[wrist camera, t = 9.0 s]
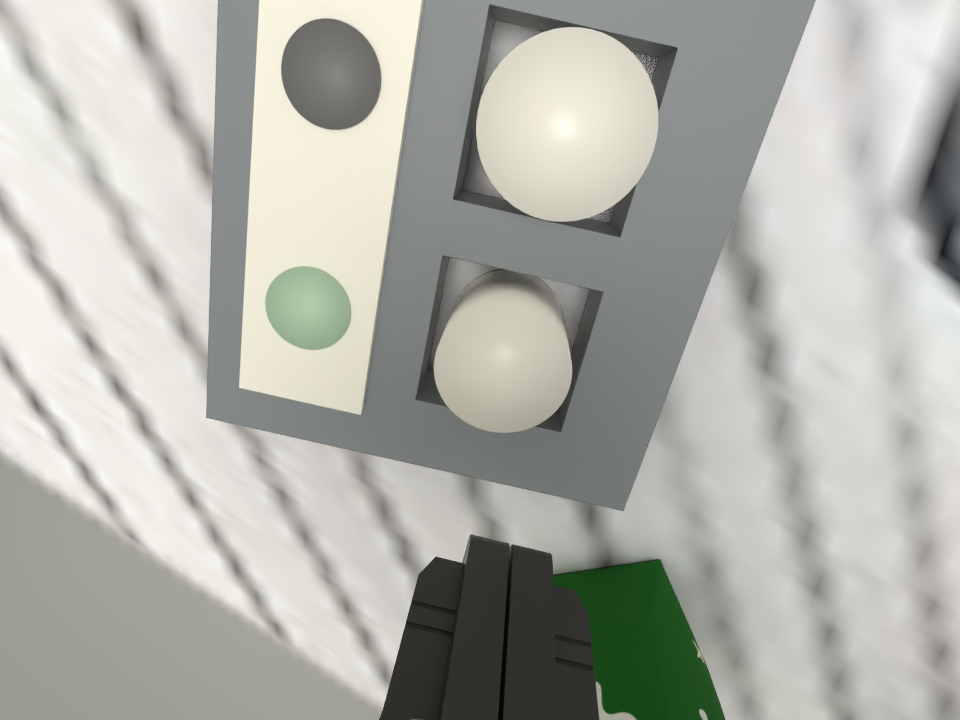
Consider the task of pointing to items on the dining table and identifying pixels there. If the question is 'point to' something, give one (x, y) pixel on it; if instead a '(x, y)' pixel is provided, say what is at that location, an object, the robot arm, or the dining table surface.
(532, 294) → the button
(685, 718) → the milk carton
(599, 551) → the dining table surface
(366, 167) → the strip
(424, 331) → the button board
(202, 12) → the dining table surface
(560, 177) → the button
